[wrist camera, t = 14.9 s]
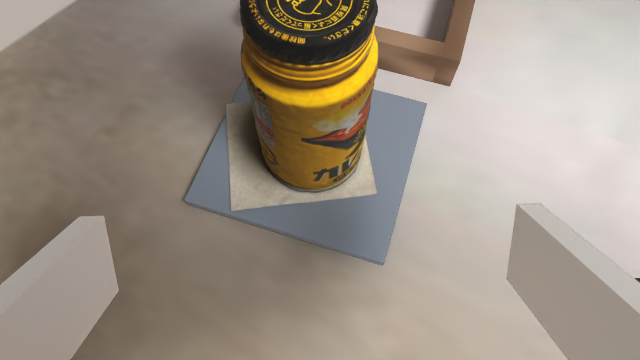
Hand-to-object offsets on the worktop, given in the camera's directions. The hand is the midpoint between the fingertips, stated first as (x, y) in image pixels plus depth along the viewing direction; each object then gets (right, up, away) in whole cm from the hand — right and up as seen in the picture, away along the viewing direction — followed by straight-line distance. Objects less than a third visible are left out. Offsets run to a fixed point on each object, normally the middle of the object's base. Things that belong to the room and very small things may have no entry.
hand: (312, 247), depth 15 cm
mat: (0, +4, +14) cm, 14 cm away
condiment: (-1, +4, +13) cm, 14 cm away
